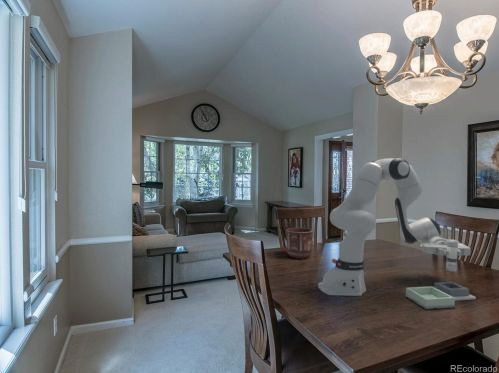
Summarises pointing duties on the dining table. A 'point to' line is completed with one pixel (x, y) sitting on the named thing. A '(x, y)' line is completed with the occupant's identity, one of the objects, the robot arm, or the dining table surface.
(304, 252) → the pottery
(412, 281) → the dining table surface
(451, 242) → the cylinder
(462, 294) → the fuse board
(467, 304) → the dining table surface
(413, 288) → the parts tray
